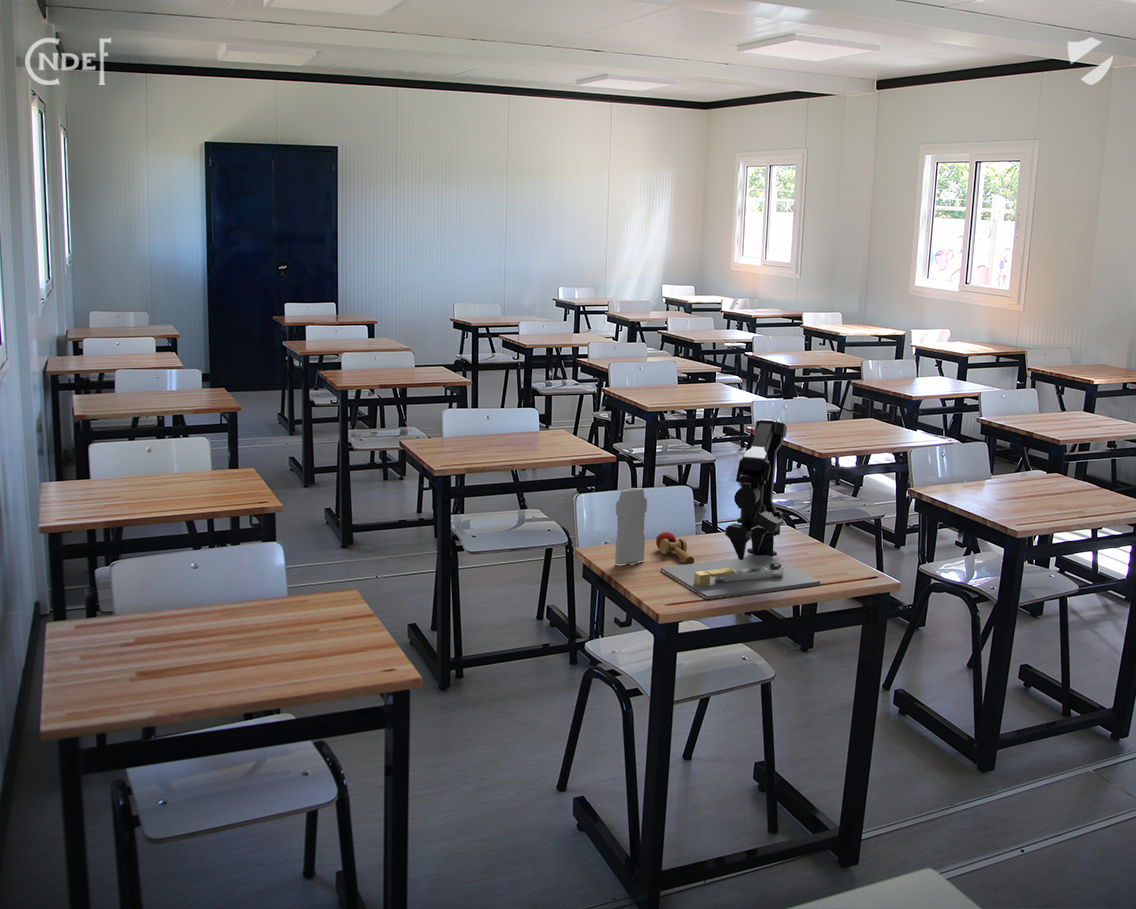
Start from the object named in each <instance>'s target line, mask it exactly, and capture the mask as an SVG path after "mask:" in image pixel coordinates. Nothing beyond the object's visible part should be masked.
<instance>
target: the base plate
mask: <svg viewBox="0 0 1136 909" xmlns="http://www.w3.org/2000/svg"><path fill="white" fill-rule="evenodd" d="M770 563H778V564H781V565H782V566H781V567H783V568H784V570H783V577H780V578H774V577H770V578H760V579H750V580H740V581H729V582H717V581H715V577H711V576H710V586H708V587H698V586H696V585H695V584H694V572H699V571H705V572H706V571H707V570H715V569H723V568H730V569H731V570H739V569H750V568H760V567H768V566H769V565H770ZM660 569H661V570H662V571H664V572H665V573H667V574H669V575H670V576H672V577H673V578H675V579H677V580H678V581H680V582H681V583H683V584H684V585H686V586H688V587H689V588H691V589H693V590H694V591H696V592H697V593H699V594H701V595H702V596H704V597H705V598H707V599H711V600H715V599H714V598H719V599H723V598H722V597H726V598H731V597H730V596H733V597H738V596H737V595H741V596H747V595H746V594H748V595H755V594H761V593H770V592H775V591H782V590H783V591H784V590H791V589H799V588H805V587H814V586H820V585H821V580H819V579H817V578H815V577H813V576H811V575H809V574H806V573H804V572H803V571H800V570H798V569H796V568H794V567H792V566H790V565H789V564H786V563H784V562H782V561H780V560H778V559H775V558H774V557H771V556H770V555H762V556H757V555H754V556H746V557H744V558H743V560H739V558H738V557H737V558H729V559H721V560H720V559H719V560H713V561H712V560H711V561H704V562H696V563H695V562H694V564H685V563H684V564H680V565H679V564H678V565H677V564H676V565H669V566H663V567H662V566H661V567H660ZM665 573H664V574H665ZM670 576H669V577H670ZM673 578H672V579H673ZM678 581H677V582H678ZM681 583H680V584H681ZM683 584H682V585H683ZM819 584H820V585H819ZM684 585H683V586H684ZM686 586H685V587H686ZM689 588H688V589H689ZM691 589H690V590H691ZM694 591H693V592H694ZM697 593H696V594H697ZM699 594H698V595H699ZM702 596H701V597H702ZM704 597H703V598H704ZM720 597H721V598H720ZM705 598H704V599H705ZM707 599H706V600H707Z"/></svg>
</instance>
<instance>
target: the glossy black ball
mask: <svg viewBox="0 0 1136 909" xmlns="http://www.w3.org/2000/svg"><path fill="white" fill-rule="evenodd" d="M769 566H770V567H772V568H775V569H777V568H781V566H782V565H781V564H778V563H770V565H769Z"/></svg>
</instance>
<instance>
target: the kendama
mask: <svg viewBox="0 0 1136 909" xmlns="http://www.w3.org/2000/svg"><path fill="white" fill-rule="evenodd" d="M655 545H656V548H658V550H659V551H660V553H661V554H662V555H667V553H672V552H674V553H675V554H676V555H677V557H678V558H679V559H680V560H681V561H682V563H683V564H684V565H685V564H694V563H695V558H694V557H693V556H692V555H690V554H689V553H687V549H688V543H687V541H686V539H684V538H683V539H682V538H678V540H677V539H676V536H675V535H674V534H673V533H671V531H663V532H661V533H659V534H658V536H657V537H656V541H655ZM669 551H670V552H669Z"/></svg>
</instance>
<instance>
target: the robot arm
mask: <svg viewBox="0 0 1136 909" xmlns="http://www.w3.org/2000/svg"><path fill="white" fill-rule="evenodd" d="M754 434H755V435H754V437H753V441H752V444H751V446H750V448H749V449H747V450H745V451H744V452H743V455H742V458H740V459H739V462H738V468H737V472H736V478H735V483H740V484H741V485H740V487H739V489H738V490H737V491H736V492H735V494H734V497H733V498H734V502H735V503H734V504H736V506H737V509H740V517H739V518H737V521H736V522H737V523H736V522H735V523H731V524H729V525H728V526H727V527H725V530H724V531H725V532H724V533H725V534H724V535H725V536H726V537H727V538H728V539H729V540H730V542H731V545H732V546H733V548H734V551H735V554H736V555H737V558H739V560H743V558H745V557H744V556H745V553H746V547H747V543H748V542H749V541H751V548H747V550H748V551H747V552H749V551H750V553H751V552H752V554H753V555H754V556H762V555H767V556H773V555H777V554H778V552H777V551H775V550H774V542H775V540H774V537H777V536H780V535H781V525H783V524H784V516H783V512H782V511H780V510H777V507H776V505H775V503H774V500H773V497H774V496H773V495H774V486H775V474H776V466H777V464H776V463H777V454H778V451H779V450H780V447H781V446H782V445H783V444H784V438H786V437H787V425H786V424H785V423H784V422H783V421H780V420H775V419H769V418H760V419H758V420H756V421H755V427H754Z"/></svg>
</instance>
